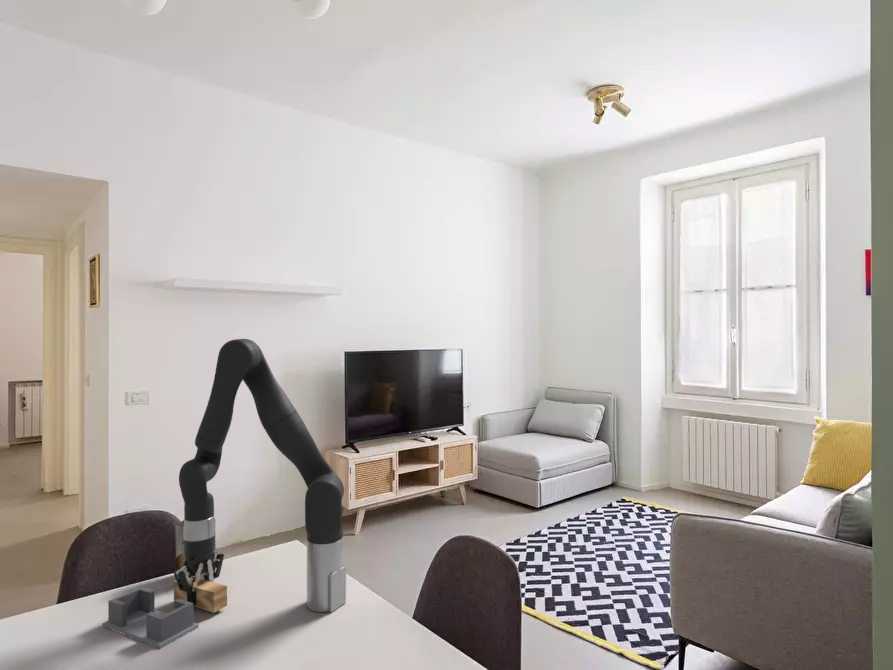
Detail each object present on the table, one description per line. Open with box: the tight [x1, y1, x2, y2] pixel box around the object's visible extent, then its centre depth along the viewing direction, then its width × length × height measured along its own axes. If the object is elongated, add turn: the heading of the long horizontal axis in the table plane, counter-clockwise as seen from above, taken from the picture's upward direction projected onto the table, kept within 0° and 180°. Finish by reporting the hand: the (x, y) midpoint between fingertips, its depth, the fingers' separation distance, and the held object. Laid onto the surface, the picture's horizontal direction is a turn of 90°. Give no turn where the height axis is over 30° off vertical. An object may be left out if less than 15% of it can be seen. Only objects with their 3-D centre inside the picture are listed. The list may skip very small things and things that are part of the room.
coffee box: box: [174, 519, 216, 580], centre depth 160 cm, size 9×6×16 cm
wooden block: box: [173, 576, 228, 613], centre depth 142 cm, size 15×4×5 cm, turn 63°
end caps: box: [102, 586, 199, 649], centre depth 132 cm, size 21×10×6 cm, turn 63°
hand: (200, 600), depth 142 cm, fingers closed on wooden block, 4 cm apart
